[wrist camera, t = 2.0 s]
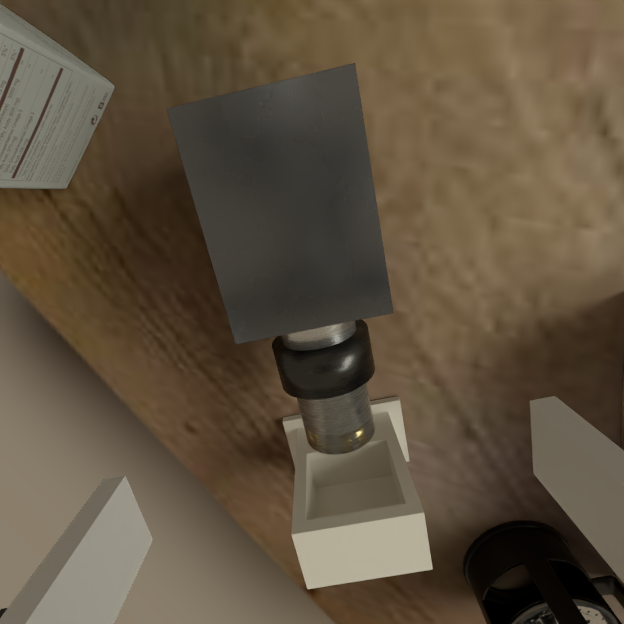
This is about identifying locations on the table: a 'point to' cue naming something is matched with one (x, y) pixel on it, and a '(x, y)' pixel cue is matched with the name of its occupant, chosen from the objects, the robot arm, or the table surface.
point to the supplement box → (44, 107)
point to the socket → (357, 505)
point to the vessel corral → (622, 445)
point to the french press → (537, 578)
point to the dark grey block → (287, 203)
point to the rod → (330, 383)
